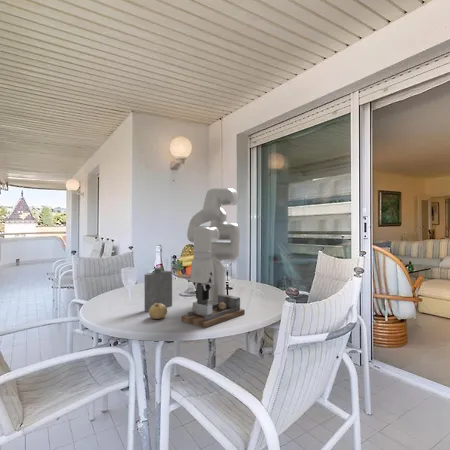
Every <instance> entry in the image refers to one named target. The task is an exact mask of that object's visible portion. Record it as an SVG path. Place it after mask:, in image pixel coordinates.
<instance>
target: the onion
mask: <svg viewBox="0 0 450 450" xmlns="http://www.w3.org/2000/svg"><path fill="white" fill-rule="evenodd" d="M148 314H149V316H150V318H151V319H153V320H159V319H164V318H166V315H167V314H168V307H166V306H165V305H163V304H162V303H154V305H152V306H151V308H150V309H149V312H148Z"/></svg>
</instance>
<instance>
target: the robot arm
mask: <svg viewBox="0 0 450 450" xmlns="http://www.w3.org/2000/svg"><path fill="white" fill-rule="evenodd" d="M238 200H239V195H238V191H237V190H236V189H234V188H230V187H221V188H220V187H218V188H210V189H208V190H207V191H206V193H205V197H204V202H203V206H202V209H201V210H199V211H198V212H196V213H195V214H194V215H193V216H192V218H191V219H190V221H189V223H188V228H187V231H186V232H187V233H186V236H187V240H188V241H189V243H193V253H192V256H193V258H192V259H191V264H190V265H191V266H190V274H189V275H190V276H189V277H190V279H189V280H190V282H191V283H192V284H193V287H194V289H195V299H196V300H197V285H199V284H203V288H204V291H203V300H207V299H208V304H212V305H216V304H218V295H220V294H225V295H227V294H226V292H227V290H226V287H227V286H226V284H227V283H226V267H225V265H224V264H223V262H224V261H225V262H226V261H228V262H231V261H237V260H238V259H239V257H240V255H239V254H240V239H241V238H240V236H241V235H240V233H241V232H240V226H239V224H238V223H236V222H227V217H228V216H227V213H226V211H225V210H224V208H222V206H224V207H225V206H227V207H228V206H236V205H237V203H238ZM208 222H210V225H209V226H208V225H204V224H206V223H208ZM202 224H203V225H202ZM220 241H221V242H220ZM224 241H226V242H224ZM228 241H229V242H228ZM222 261H223V262H222ZM198 283H199V284H198ZM206 284H207V286H206Z"/></svg>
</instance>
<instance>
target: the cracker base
mask: <svg viewBox="0 0 450 450" xmlns="http://www.w3.org/2000/svg"><path fill="white" fill-rule="evenodd" d="M221 302H224V303H225V304H226V309H225V310H220V309H219V304H220V303H221ZM245 310H246V309H244V308H241V297H239V296H233V295H231V294H226V295H225V294H220V295H218V304H216V305H212V315H209V316H202V315H198V314H194V313H193V310H192V311H188V312H187V314H185V315H181V322H184V323H187V324H191V325H194V326H197V327H200V328H203V329H206V328H209V327H212V326H216V325H217V324H220V323H223V322H226V321H229V320H232V319H234V318H237V317H240V316H242V315H245V312H246V311H245Z"/></svg>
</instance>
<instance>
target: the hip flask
mask: <svg viewBox="0 0 450 450" xmlns="http://www.w3.org/2000/svg"><path fill="white" fill-rule="evenodd" d="M153 269H154V272H149V273H146V274H144V312H145V313H149V309H150V308H151V306H152V305H154V303H162V304H163V305H165V306H166V308H169V307H173V271H172V270H163V269H162V267H159V266H158V267H154V268H153Z"/></svg>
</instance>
